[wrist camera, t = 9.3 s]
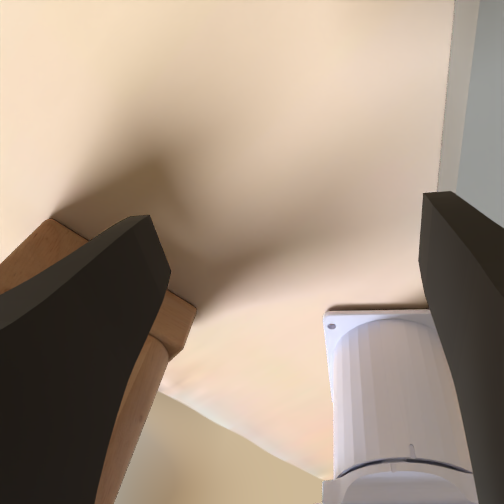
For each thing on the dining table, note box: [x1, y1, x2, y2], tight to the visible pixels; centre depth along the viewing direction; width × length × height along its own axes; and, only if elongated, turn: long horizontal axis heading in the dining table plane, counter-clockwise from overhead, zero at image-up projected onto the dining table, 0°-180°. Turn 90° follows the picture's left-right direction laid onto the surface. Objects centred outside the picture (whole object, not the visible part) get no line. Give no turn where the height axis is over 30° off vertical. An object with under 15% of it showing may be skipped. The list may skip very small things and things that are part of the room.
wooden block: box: [0, 219, 197, 504], centre depth 19 cm, size 4×11×18 cm, turn 54°
